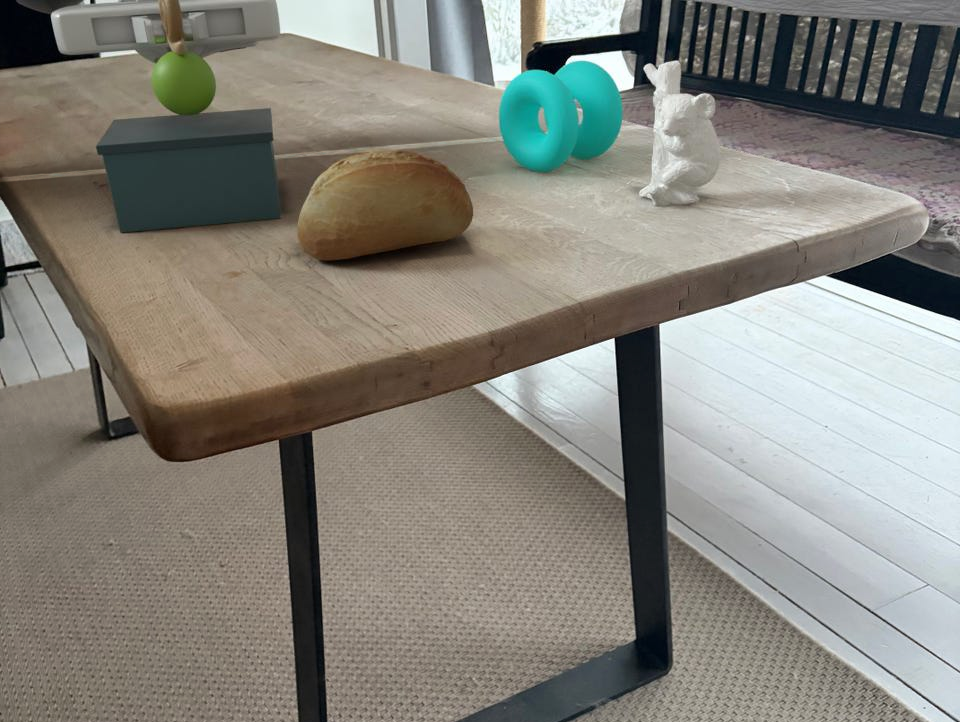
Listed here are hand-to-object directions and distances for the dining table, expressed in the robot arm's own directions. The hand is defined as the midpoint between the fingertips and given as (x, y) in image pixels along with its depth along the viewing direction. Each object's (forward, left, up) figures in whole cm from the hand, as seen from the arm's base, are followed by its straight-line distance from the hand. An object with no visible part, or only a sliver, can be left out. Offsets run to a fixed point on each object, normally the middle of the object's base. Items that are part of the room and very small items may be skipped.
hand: (173, 31), depth 83 cm
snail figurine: (0, -1, -7) cm, 7 cm away
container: (0, +1, -16) cm, 16 cm away
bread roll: (+16, -17, -16) cm, 28 cm away
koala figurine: (+43, -11, -16) cm, 47 cm away
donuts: (+37, +6, -16) cm, 41 cm away
